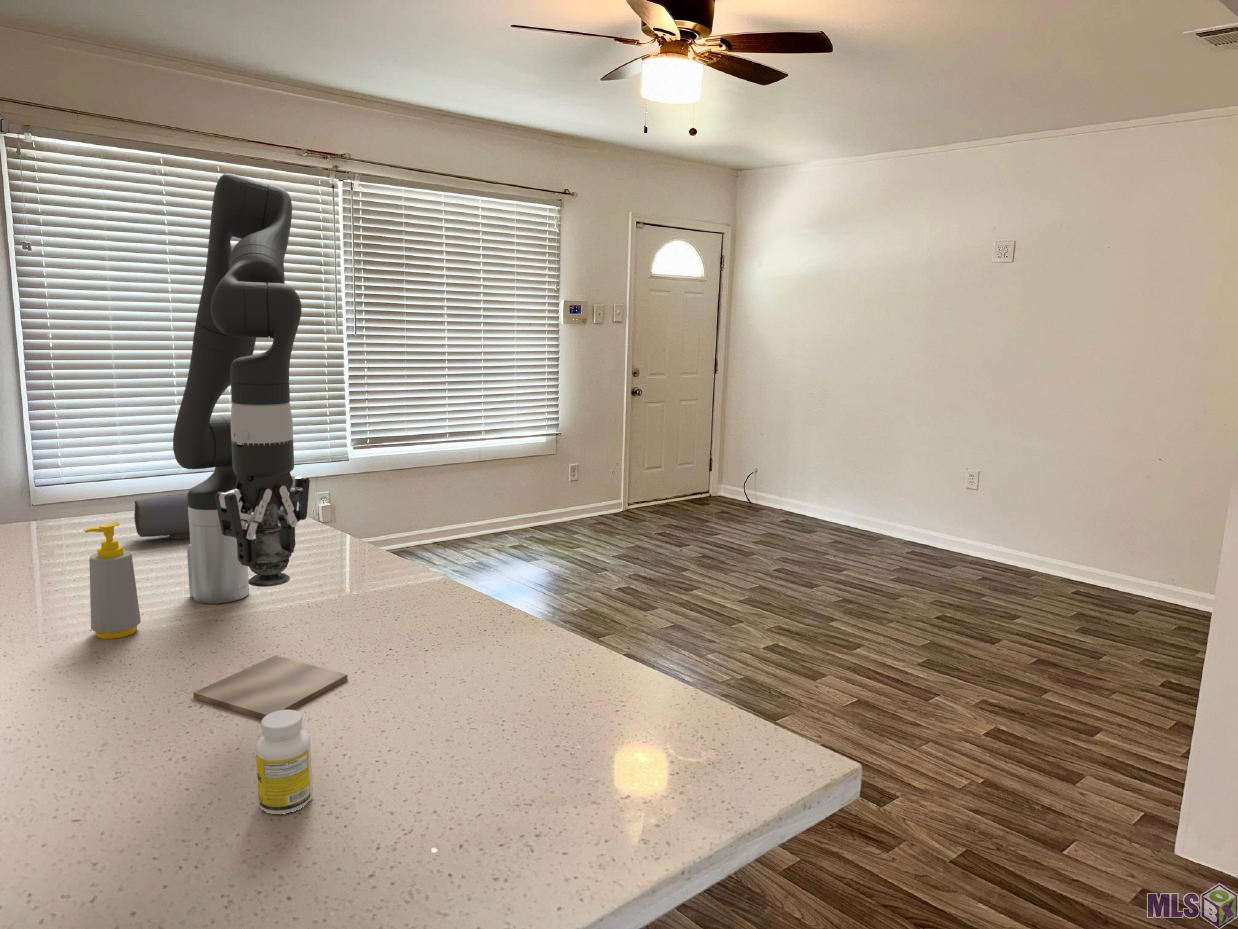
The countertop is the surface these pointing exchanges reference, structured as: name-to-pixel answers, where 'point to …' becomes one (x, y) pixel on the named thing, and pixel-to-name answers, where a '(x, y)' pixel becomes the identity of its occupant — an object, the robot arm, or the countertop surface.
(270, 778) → the supplement bottle
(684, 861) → the countertop surface
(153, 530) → the bluetooth speaker
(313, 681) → the walnut pad
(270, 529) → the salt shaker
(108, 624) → the soap bottle
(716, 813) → the countertop surface
